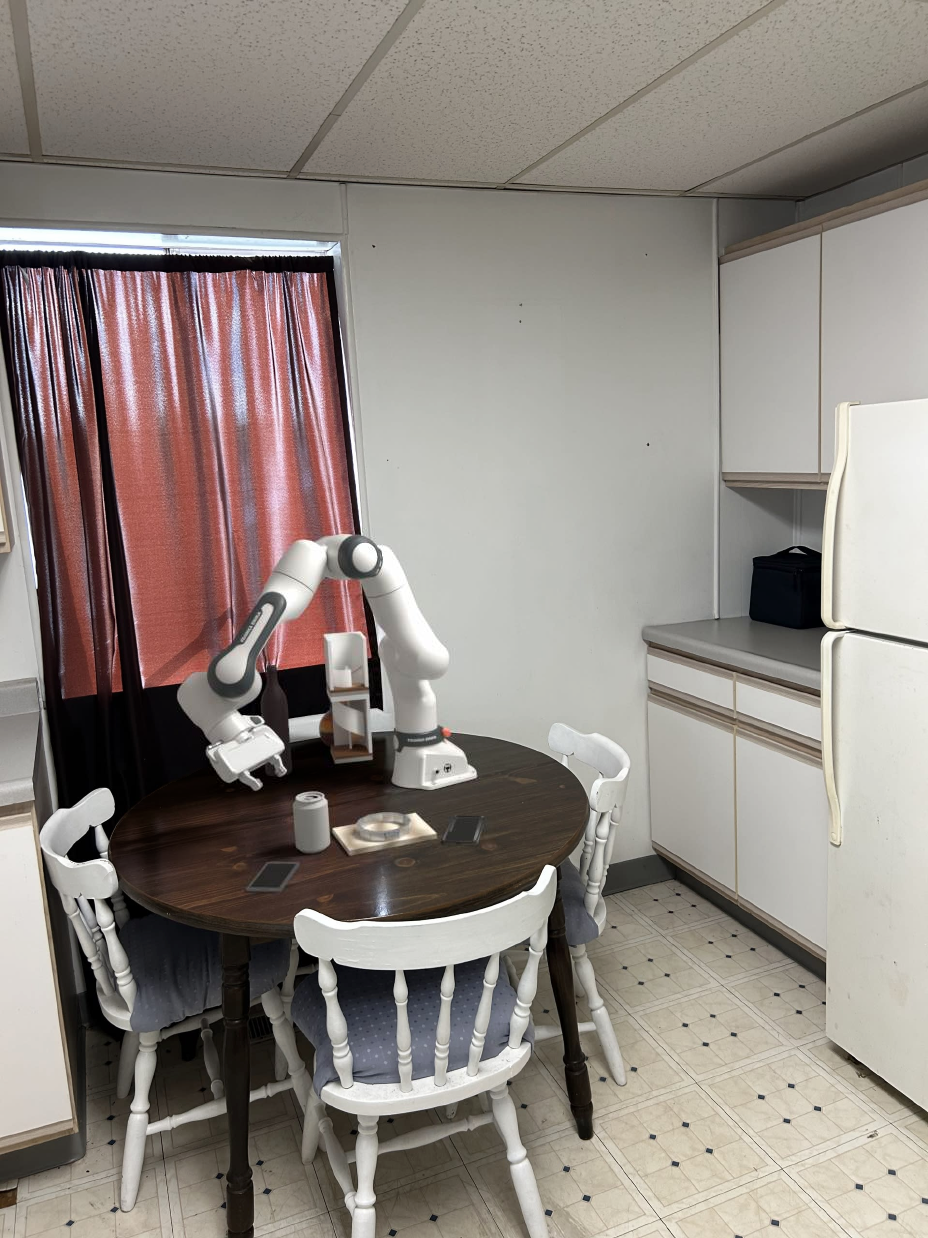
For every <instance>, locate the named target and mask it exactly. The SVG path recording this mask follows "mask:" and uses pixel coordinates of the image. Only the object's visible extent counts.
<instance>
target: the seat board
mask: <svg viewBox="0 0 928 1238" xmlns="http://www.w3.org/2000/svg"><path fill="white" fill-rule="evenodd" d="M405 815H407V816H408V817H409V818H410V819H411V831H410V833H409V834H408V835H406V836H404V837H402V838H400V839H396V840H391V841H385V842H383V841H368V840H365V839H361V838H360V837H359V836H358V835H357V834H356V823H355V824H354V823H353V824H348V825H344V826H338V827H333V828H332V834H333V836H334V837H335V838H336V840H337V841H338V842H339V843H340V845H341V846H342V848H343V849H344V851H346V852H347V854H348V855H349V856H356V855H357V856H358V855H360V854H366V853H367V854H368V853H372V852H376V851H381V850H386V849H391V848H397V847H401V846H405V845H406V846H407V845H410V844H417V843H421V842H425V841H426V842H427V841H431V840H436V839H438V836H437V835H438V833H437V832H436V831H435V830H434V829H433V828H432V827H430V825H429V824H428V823H427V822H425V821H424V820H423V819H422V818H421V817H420V816H419V815H418V813H416V812H413V813H406V814H405ZM401 826H403V825H402V824H398V823H395V822H382V823H376V824H371V825H369V826H367V827H365V828H364V829H368V830H371V831H388V830H393V829H397V828H399V827H401Z"/></svg>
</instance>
